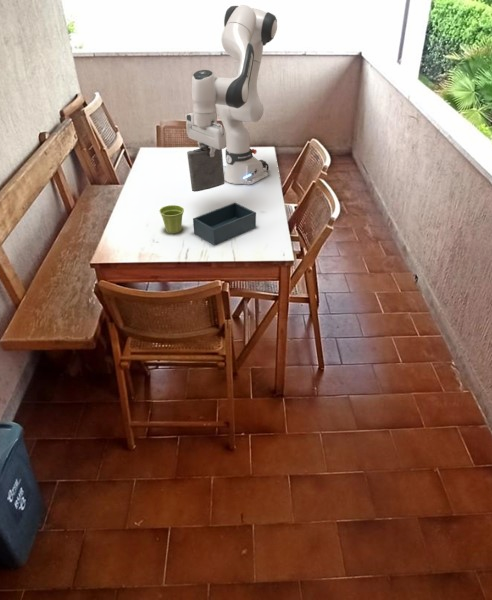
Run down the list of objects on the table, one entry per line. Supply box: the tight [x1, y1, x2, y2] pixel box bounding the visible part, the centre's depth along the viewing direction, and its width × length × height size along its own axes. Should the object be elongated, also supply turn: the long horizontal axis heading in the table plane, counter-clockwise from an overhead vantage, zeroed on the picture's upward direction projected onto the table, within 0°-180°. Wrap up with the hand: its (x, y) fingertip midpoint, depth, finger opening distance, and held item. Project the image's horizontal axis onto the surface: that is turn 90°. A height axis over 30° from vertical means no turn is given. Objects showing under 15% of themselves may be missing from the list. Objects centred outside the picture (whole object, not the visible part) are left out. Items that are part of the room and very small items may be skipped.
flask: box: [186, 143, 226, 193], centre depth 192 cm, size 4×14×18 cm, turn 118°
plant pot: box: [158, 204, 185, 234], centre depth 190 cm, size 9×9×9 cm
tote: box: [192, 202, 257, 246], centre depth 191 cm, size 22×13×7 cm, turn 133°
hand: (207, 154), depth 190 cm, fingers closed on flask, 4 cm apart
